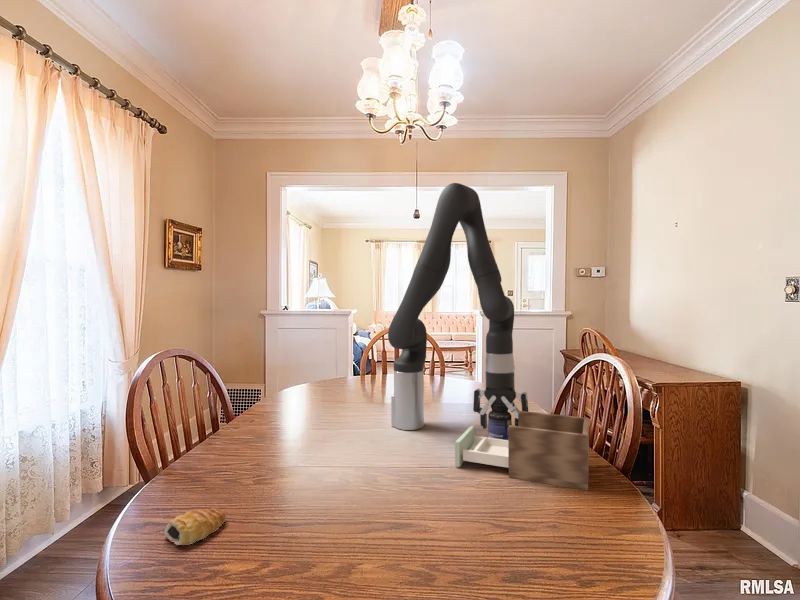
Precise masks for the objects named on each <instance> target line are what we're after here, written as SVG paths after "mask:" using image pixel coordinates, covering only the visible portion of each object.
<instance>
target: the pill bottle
mask: <svg viewBox="0 0 800 600" xmlns="http://www.w3.org/2000/svg"><path fill="white" fill-rule="evenodd" d="M490 409H491V411H489V412H488V413H487V427H488V435H487V436H488V438H495V439H503V440H508V426H509V425H512V422H513V421H512V417H513V416H512V413H510V412H509V409H508V408H507V407H506V405H496V404H492V405H491V407H490ZM512 426H513V425H512Z"/></svg>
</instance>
